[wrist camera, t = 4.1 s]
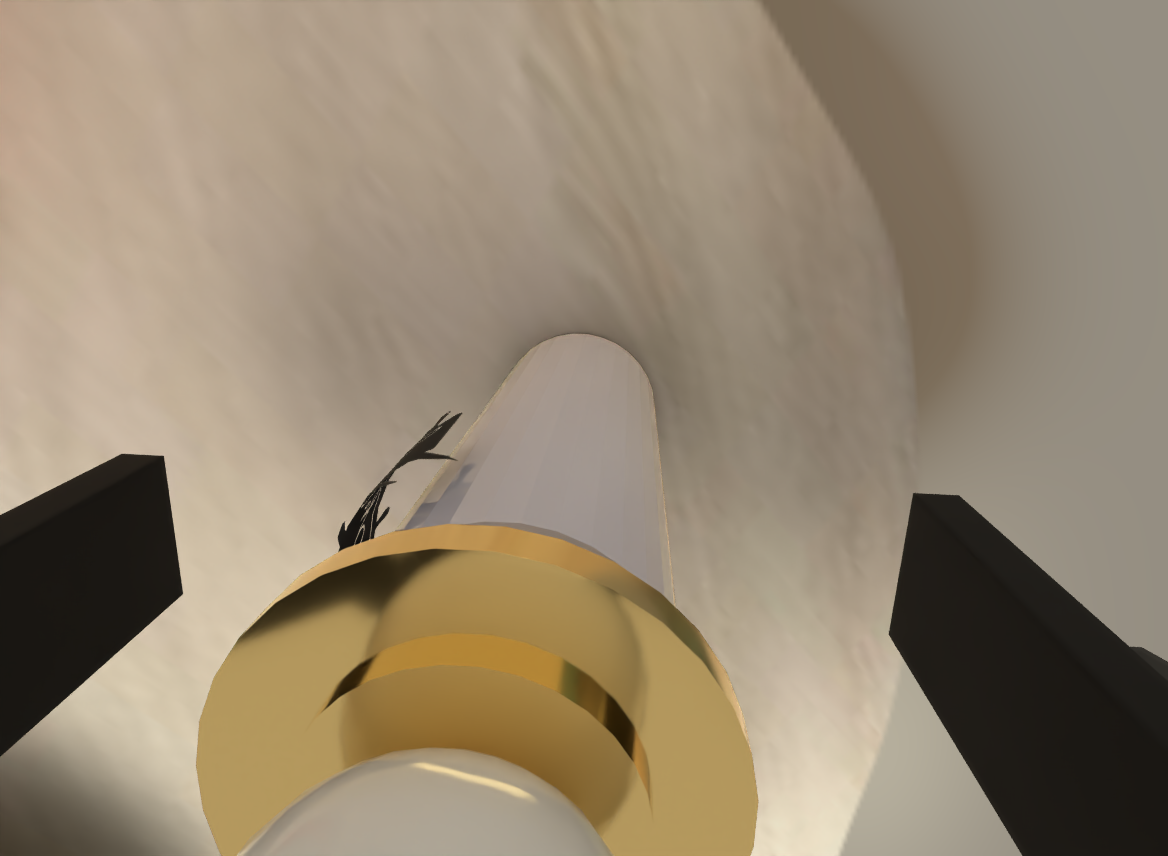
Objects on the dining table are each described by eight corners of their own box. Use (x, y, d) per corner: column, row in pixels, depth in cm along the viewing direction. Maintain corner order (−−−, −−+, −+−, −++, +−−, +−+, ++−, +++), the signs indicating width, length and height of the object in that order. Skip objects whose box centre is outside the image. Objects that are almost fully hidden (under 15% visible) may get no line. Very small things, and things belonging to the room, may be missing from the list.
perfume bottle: (701, 344, 22) (1107, 1189, 3) (637, 513, 24) (654, 1724, 5) (517, 283, 22) (-214, 785, 3) (466, 457, 24) (-212, 1487, 5)
